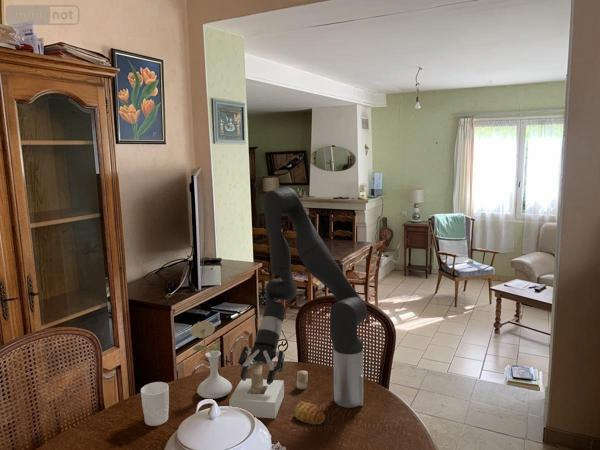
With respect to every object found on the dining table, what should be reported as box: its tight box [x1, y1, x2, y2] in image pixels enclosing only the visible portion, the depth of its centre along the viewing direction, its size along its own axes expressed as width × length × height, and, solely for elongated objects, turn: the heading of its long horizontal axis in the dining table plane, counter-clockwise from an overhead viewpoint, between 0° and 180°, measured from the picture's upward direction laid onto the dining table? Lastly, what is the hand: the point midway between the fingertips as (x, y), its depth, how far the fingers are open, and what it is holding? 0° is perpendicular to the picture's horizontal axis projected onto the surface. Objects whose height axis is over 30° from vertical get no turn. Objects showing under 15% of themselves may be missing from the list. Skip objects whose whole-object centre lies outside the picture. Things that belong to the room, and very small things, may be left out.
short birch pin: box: [296, 370, 309, 390], centre depth 153 cm, size 4×4×5 cm
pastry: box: [293, 401, 326, 425], centre depth 134 cm, size 9×7×4 cm
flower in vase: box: [189, 320, 233, 400], centre depth 149 cm, size 13×11×25 cm
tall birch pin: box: [250, 363, 264, 394], centre depth 142 cm, size 4×4×13 cm
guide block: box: [228, 377, 285, 419], centre depth 142 cm, size 14×14×5 cm
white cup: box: [140, 381, 170, 427], centre depth 135 cm, size 8×8×10 cm
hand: (255, 381), depth 140 cm, fingers open, 8 cm apart
